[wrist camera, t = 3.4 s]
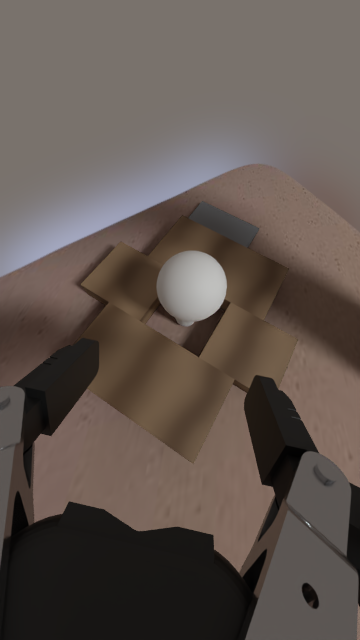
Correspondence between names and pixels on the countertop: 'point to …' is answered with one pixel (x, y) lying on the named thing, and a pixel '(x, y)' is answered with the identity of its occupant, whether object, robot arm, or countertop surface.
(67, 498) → the countertop surface
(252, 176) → the countertop surface
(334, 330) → the countertop surface
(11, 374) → the countertop surface
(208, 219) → the slate mat
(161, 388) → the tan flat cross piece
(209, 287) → the lightbulb
